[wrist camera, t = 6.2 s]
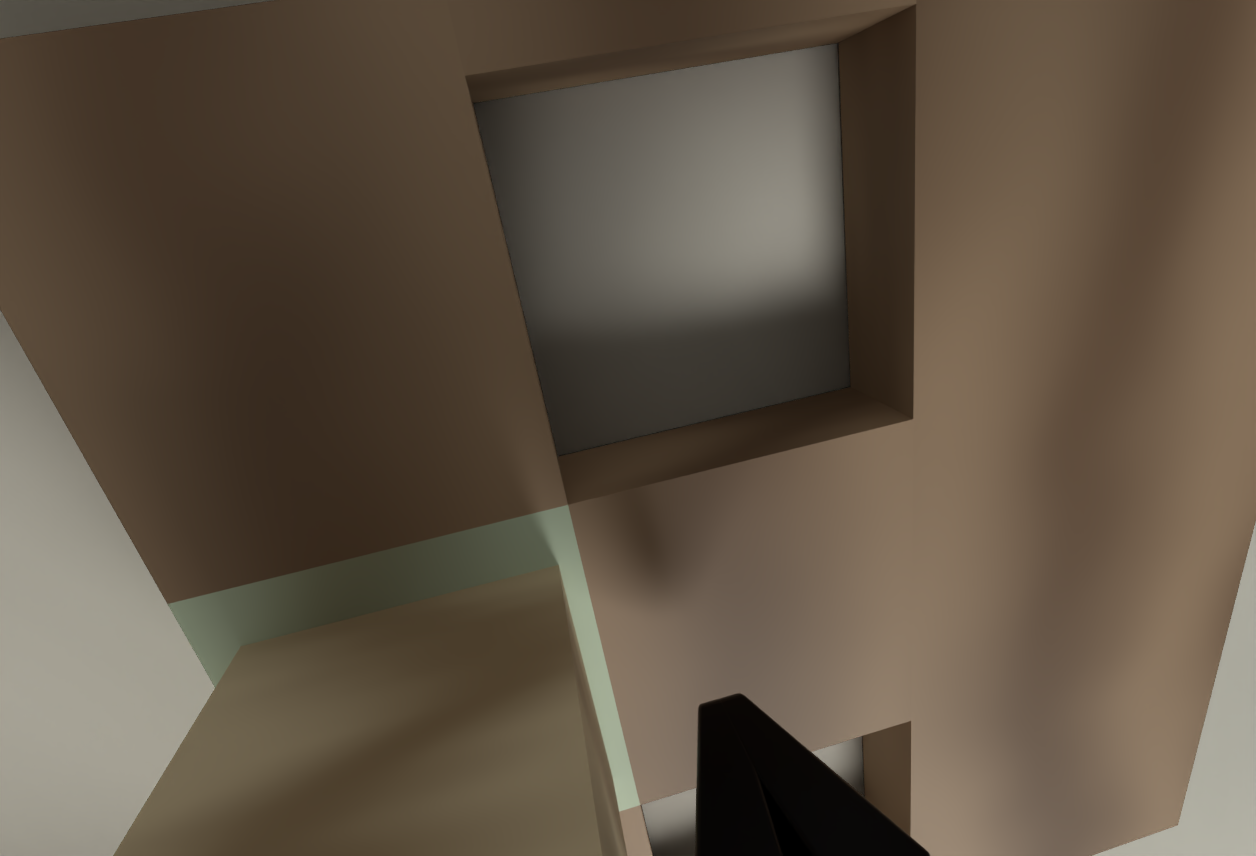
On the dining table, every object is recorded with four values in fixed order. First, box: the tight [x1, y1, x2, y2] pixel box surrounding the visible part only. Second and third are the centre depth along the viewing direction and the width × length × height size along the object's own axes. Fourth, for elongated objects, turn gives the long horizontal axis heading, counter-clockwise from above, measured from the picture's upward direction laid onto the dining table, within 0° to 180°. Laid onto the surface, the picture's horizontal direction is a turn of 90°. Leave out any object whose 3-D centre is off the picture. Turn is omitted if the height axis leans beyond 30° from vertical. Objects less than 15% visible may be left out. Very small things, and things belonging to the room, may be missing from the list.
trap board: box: [0, 0, 1256, 856], centre depth 12 cm, size 20×21×2 cm
